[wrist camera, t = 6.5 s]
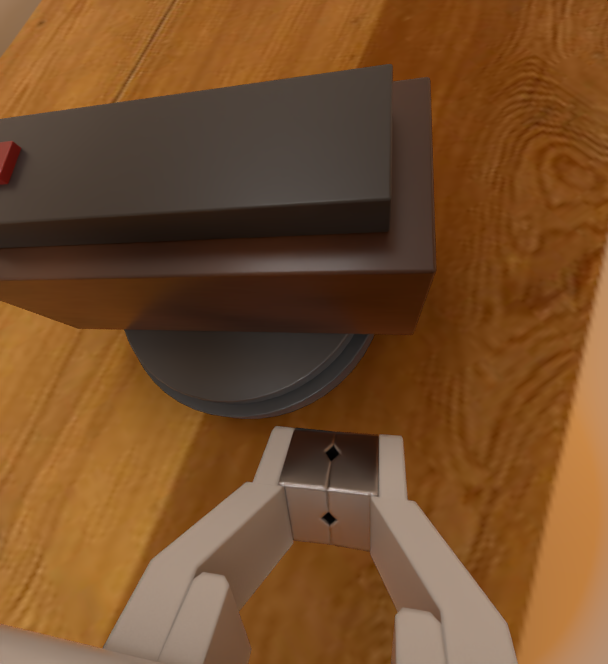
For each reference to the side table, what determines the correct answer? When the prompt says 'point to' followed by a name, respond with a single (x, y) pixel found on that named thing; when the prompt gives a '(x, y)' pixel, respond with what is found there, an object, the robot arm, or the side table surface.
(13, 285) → the remote caddy
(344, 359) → the turntable base
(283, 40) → the side table surface
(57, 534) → the side table surface
